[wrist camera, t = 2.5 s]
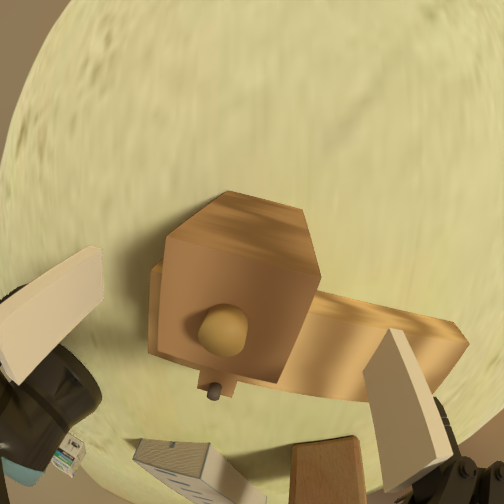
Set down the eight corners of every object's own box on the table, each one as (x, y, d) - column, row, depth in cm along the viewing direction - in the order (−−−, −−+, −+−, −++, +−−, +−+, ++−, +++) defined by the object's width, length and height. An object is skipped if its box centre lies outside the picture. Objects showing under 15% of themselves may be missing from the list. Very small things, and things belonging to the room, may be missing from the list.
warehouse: (142, 436, 39) (128, 467, 31) (210, 440, 35) (200, 479, 28) (212, 493, 47) (206, 516, 40) (267, 495, 44) (264, 520, 37)
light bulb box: (63, 429, 46) (46, 456, 36) (84, 442, 47) (68, 471, 37) (68, 441, 50) (53, 465, 40) (87, 453, 51) (73, 478, 41)
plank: (163, 329, 27) (148, 353, 23) (170, 251, 24) (150, 269, 20) (414, 381, 26) (423, 404, 23) (453, 322, 23) (469, 343, 19)
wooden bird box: (199, 337, 27) (153, 445, 15) (227, 190, 21) (152, 247, 9) (257, 353, 27) (237, 468, 14) (302, 209, 21) (325, 293, 9)
